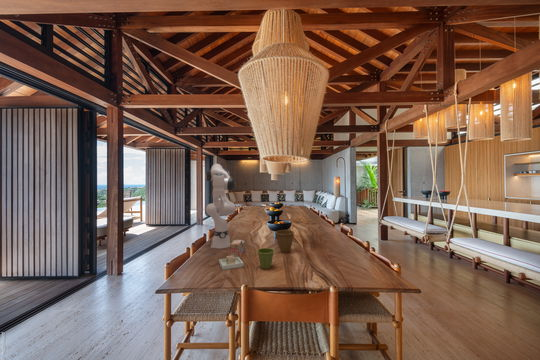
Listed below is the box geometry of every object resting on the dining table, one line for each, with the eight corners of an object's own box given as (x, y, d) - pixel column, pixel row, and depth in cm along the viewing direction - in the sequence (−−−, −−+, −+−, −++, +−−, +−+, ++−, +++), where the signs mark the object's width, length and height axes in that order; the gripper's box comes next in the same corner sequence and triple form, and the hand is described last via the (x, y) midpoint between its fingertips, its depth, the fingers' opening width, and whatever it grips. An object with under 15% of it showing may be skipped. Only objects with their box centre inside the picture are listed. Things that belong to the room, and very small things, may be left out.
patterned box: (237, 251, 197) (237, 236, 197) (245, 251, 196) (245, 236, 196) (230, 260, 176) (230, 243, 175) (238, 260, 175) (238, 243, 175)
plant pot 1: (258, 271, 154) (257, 253, 154) (256, 264, 166) (256, 248, 166) (276, 269, 156) (275, 252, 156) (273, 263, 168) (273, 247, 168)
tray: (218, 263, 169) (218, 259, 169) (238, 260, 174) (238, 256, 174) (222, 270, 156) (222, 265, 156) (243, 267, 161) (243, 262, 161)
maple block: (226, 263, 167) (226, 256, 167) (233, 262, 168) (233, 255, 168) (228, 265, 162) (228, 258, 162) (235, 264, 164) (235, 257, 164)
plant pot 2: (277, 248, 204) (277, 229, 204) (294, 249, 201) (294, 230, 201) (274, 253, 190) (274, 233, 190) (293, 254, 187) (292, 234, 187)
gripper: (226, 195, 168) (226, 215, 168) (220, 194, 187) (220, 211, 187) (217, 196, 166) (217, 216, 166) (212, 194, 185) (212, 212, 185)
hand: (219, 213), depth 177 cm, fingers open, 8 cm apart
